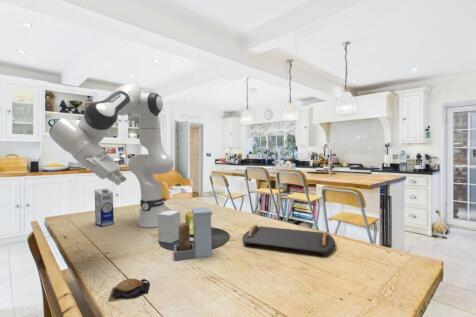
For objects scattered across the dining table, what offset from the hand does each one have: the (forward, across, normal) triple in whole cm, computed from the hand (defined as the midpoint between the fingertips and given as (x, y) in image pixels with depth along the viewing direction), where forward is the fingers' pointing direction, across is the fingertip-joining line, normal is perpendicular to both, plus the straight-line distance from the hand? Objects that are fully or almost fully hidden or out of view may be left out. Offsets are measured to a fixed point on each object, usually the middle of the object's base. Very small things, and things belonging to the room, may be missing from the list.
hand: (122, 182), depth 94 cm
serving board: (+68, -1, -25) cm, 72 cm away
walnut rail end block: (+36, -2, +6) cm, 37 cm away
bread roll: (+25, -23, +18) cm, 38 cm away
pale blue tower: (+38, -2, +3) cm, 39 cm away
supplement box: (+32, +18, +10) cm, 38 cm away
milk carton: (+7, +54, +34) cm, 65 cm away
